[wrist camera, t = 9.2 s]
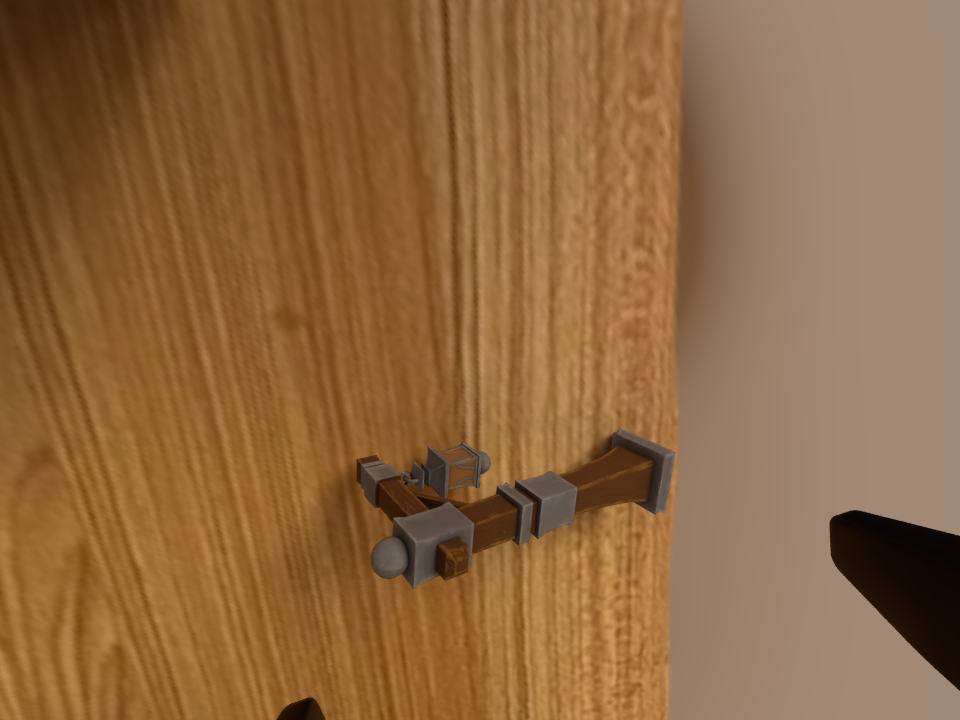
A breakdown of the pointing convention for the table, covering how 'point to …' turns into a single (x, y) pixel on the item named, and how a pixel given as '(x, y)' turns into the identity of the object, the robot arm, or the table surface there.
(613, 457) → the wooden post with brackets
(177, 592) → the table surface
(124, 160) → the table surface
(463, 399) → the table surface
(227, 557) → the table surface
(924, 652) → the robot arm
